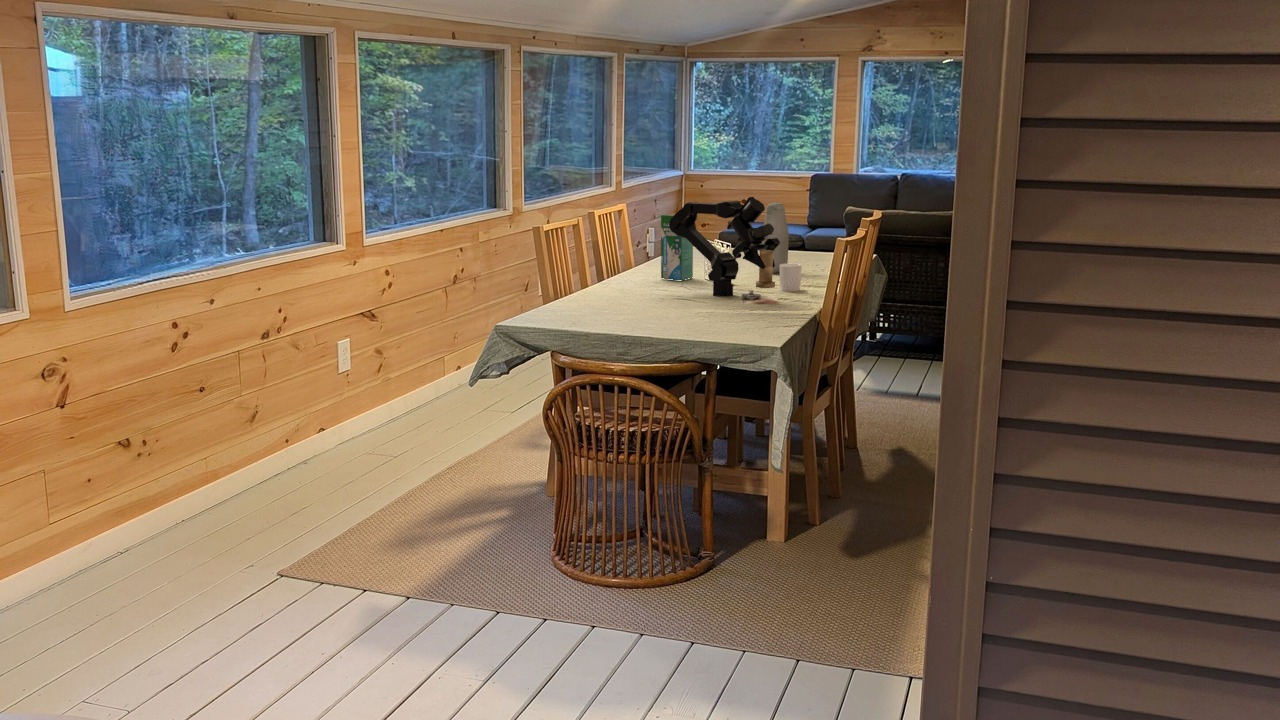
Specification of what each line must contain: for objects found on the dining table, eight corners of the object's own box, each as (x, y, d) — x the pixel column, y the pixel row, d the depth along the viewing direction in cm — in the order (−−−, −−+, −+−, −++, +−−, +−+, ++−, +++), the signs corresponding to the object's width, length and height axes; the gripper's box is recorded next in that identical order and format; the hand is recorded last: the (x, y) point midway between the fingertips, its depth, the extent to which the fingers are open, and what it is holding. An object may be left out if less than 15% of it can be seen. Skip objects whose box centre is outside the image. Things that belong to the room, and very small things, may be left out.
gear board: (742, 306, 375) (742, 303, 375) (742, 299, 389) (742, 296, 388) (778, 307, 374) (778, 303, 374) (777, 299, 388) (777, 296, 387)
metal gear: (741, 300, 381) (741, 291, 380) (741, 297, 387) (741, 288, 387) (761, 300, 380) (761, 292, 379) (760, 297, 387) (760, 288, 386)
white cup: (800, 294, 398) (801, 266, 395) (777, 294, 399) (778, 266, 397) (801, 291, 405) (802, 263, 403) (779, 290, 407) (780, 263, 405)
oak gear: (755, 287, 374) (756, 251, 372) (756, 284, 380) (757, 249, 378) (774, 288, 373) (775, 252, 371) (775, 285, 379) (776, 249, 377)
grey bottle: (769, 270, 456) (770, 200, 450) (791, 272, 450) (793, 201, 444) (757, 273, 448) (758, 202, 442) (779, 275, 442) (781, 203, 436)
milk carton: (692, 278, 436) (693, 213, 431) (681, 281, 429) (681, 215, 423) (672, 276, 441) (672, 212, 435) (660, 279, 434) (660, 214, 428)
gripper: (739, 217, 368) (763, 254, 363) (777, 213, 380) (801, 249, 375) (721, 239, 376) (745, 276, 370) (758, 234, 388) (782, 270, 383)
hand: (769, 267), depth 374 cm, fingers closed on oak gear, 4 cm apart
